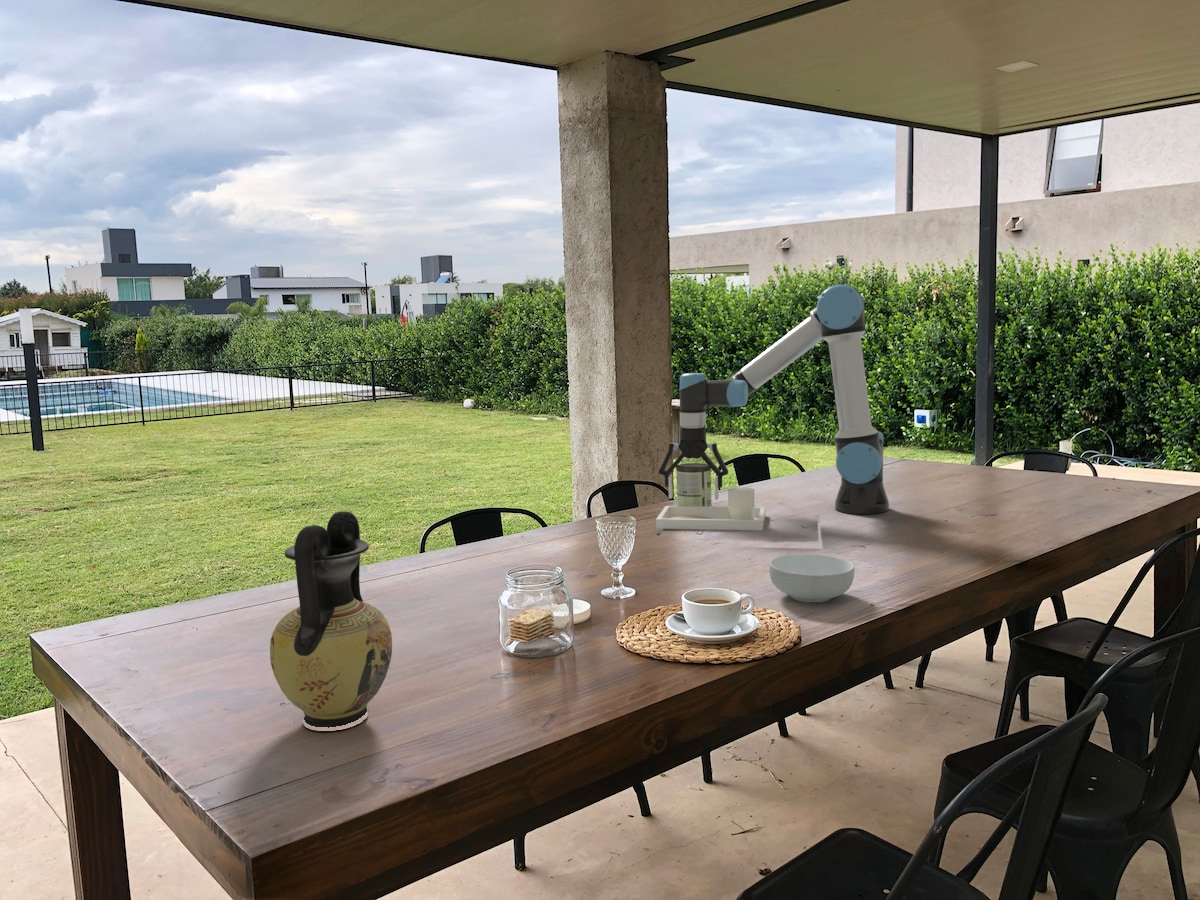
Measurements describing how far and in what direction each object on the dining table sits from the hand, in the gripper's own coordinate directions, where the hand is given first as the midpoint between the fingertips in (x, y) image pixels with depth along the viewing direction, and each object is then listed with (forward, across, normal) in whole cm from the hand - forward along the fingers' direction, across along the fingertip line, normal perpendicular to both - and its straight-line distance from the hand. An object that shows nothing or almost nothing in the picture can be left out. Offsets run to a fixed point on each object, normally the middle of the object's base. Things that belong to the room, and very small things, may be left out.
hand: (693, 498), depth 272 cm
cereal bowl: (+4, -33, +81) cm, 88 cm away
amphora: (+5, +35, +150) cm, 154 cm away
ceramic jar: (+3, -15, +19) cm, 24 cm away
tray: (+4, -7, +19) cm, 21 cm away
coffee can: (+5, 0, 0) cm, 5 cm away
